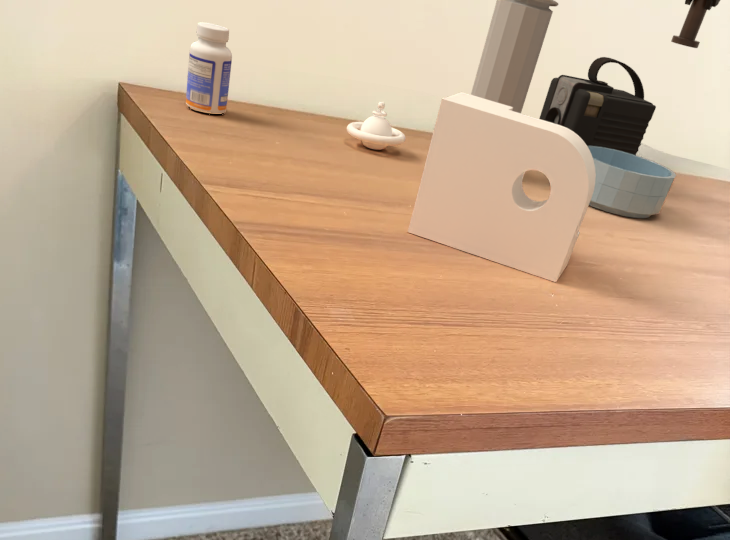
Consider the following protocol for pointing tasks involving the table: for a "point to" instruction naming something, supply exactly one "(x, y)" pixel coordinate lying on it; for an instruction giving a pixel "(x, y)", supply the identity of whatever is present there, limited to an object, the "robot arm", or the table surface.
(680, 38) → the stirring stick
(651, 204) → the bowl
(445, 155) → the white holed block
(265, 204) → the table surface
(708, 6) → the robot arm
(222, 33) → the pill bottle
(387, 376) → the table surface
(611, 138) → the camera
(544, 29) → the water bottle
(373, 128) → the ring around a ball
